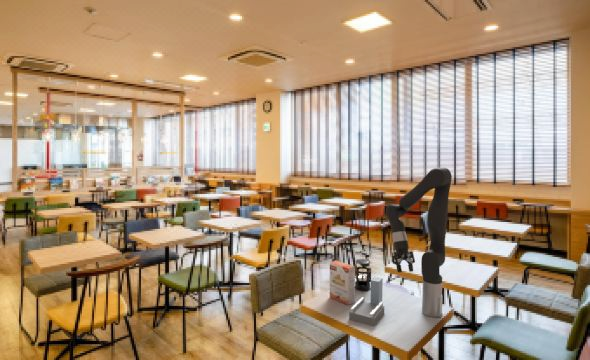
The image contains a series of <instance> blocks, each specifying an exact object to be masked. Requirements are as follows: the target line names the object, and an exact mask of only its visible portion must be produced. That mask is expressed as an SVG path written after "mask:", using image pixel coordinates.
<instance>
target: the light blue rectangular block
mask: <svg viewBox="0 0 590 360" xmlns="http://www.w3.org/2000/svg"><path fill="white" fill-rule="evenodd" d="M380 302H383V277H379V276H377V277H376V276H374V277H373V278H371V282H370V302H369V303H373V304H377V305H378V304H379V303H380Z"/></svg>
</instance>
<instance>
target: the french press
mask: <svg viewBox="0 0 590 360" xmlns="http://www.w3.org/2000/svg"><path fill="white" fill-rule="evenodd" d="M359 253H360V254H361V255H362V256H364V254H366V253H367V251H366V250H360V251H359ZM357 264H358V265H360V266H357V267H356V266H355V275H356V276H355V290H356V291H360V292H368V291H371V279H372V267H370V266H371V265H370V264H371V260H369V259H366V258H360V259H359V258H358V259H355V265H357ZM360 270H362V271H360ZM364 270H366V271H364ZM359 274H360V275H359Z"/></svg>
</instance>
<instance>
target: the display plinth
mask: <svg viewBox="0 0 590 360" xmlns="http://www.w3.org/2000/svg"><path fill="white" fill-rule="evenodd" d="M384 315H385V306H384V302H383V301H382V302H380V303H379V304H378V305H377V304H373V303H370V302H367V301H365V297H361V298H360V299H359V300H358V301H356V303H355V304H353V305H352V307H350V310H349V311H348V319H349V320H350V321H353V322H355V323H360V324H364V325H368V326H371V327H375V326H376V325H377V324H378V323H379V322H380V320H381V318H382V317H383V316H384Z"/></svg>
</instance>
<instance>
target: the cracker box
mask: <svg viewBox="0 0 590 360" xmlns="http://www.w3.org/2000/svg"><path fill="white" fill-rule="evenodd" d="M355 268H356V266H354V265H352V264H349V263H345V262H342V261H340V260H333V261H330V262H329V298H330V299H333V300H335V301H338V302H340V303H341V304H345V305H347V306H350V305H352V304H353V303H355V300H356V299H355V298H356V295H355V293H356V291H355V290H356V289H355V282H356V276H355V275H356V271H355Z"/></svg>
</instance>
